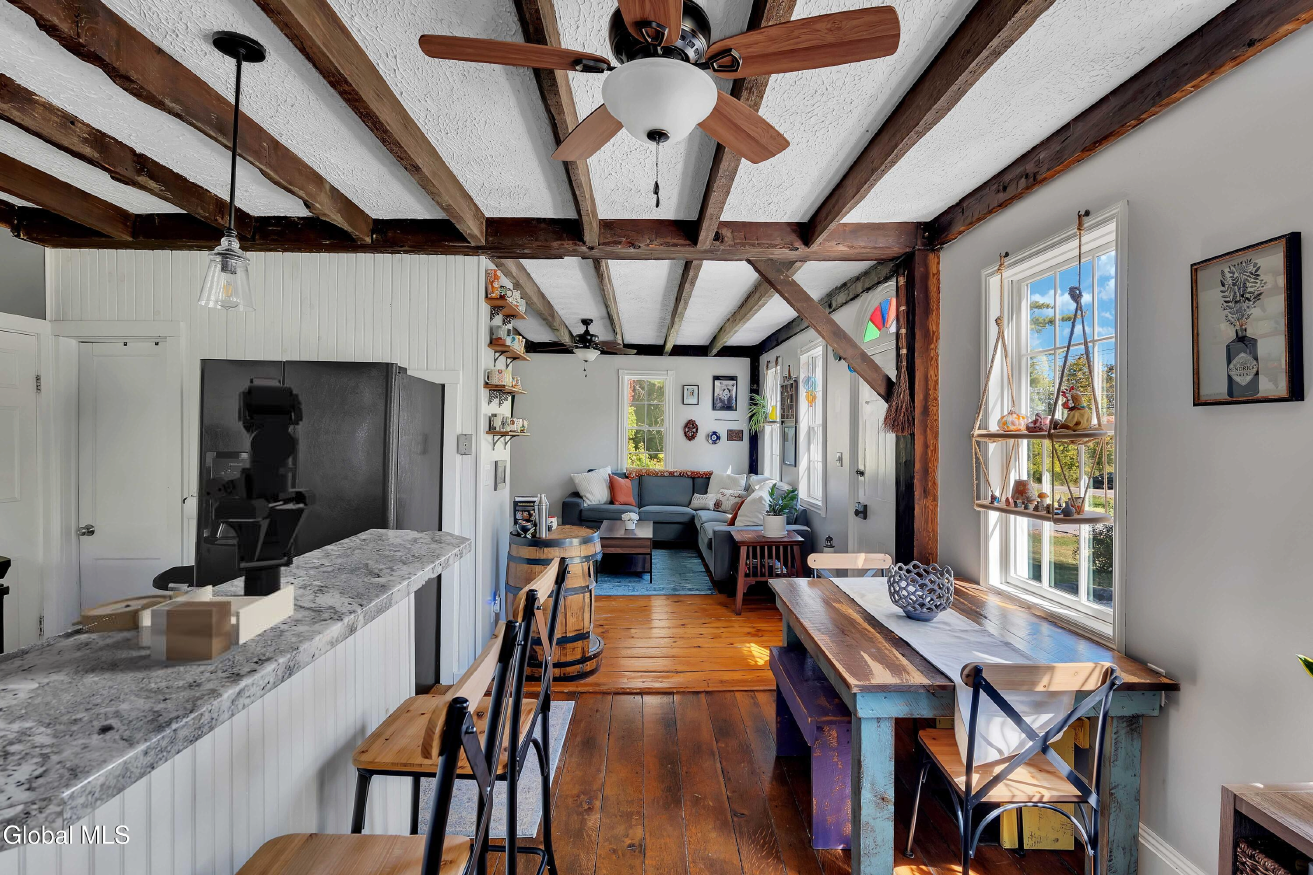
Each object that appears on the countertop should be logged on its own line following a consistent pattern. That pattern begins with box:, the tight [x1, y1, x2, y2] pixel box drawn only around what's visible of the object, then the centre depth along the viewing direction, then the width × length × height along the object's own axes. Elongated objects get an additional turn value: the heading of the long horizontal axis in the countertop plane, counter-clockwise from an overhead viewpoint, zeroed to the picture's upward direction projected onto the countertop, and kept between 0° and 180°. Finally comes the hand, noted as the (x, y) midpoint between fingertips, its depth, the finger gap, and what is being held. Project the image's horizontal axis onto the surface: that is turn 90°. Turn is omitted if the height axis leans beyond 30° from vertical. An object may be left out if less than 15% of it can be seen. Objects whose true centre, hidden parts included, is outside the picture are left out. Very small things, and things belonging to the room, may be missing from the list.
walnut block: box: [150, 601, 231, 661], centre depth 82 cm, size 4×8×7 cm, turn 95°
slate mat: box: [133, 644, 245, 667], centre depth 82 cm, size 7×10×1 cm
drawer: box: [138, 584, 295, 647], centre depth 94 cm, size 15×14×6 cm
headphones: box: [71, 590, 186, 633], centre depth 97 cm, size 11×5×15 cm
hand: (268, 555), depth 96 cm, fingers open, 9 cm apart
